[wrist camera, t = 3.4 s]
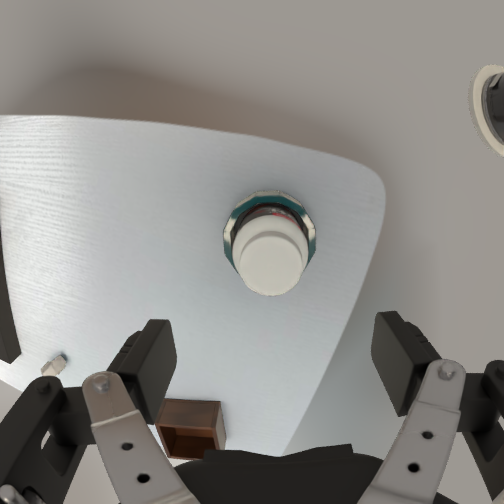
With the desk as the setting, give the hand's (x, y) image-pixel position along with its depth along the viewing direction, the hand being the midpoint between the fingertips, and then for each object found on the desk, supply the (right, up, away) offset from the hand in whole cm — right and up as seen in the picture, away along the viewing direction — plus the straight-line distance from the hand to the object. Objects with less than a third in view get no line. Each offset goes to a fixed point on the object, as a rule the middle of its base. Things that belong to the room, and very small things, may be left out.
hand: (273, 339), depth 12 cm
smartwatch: (-26, -11, +23) cm, 37 cm away
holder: (-8, -18, +25) cm, 32 cm away
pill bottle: (+1, +5, +17) cm, 18 cm away
